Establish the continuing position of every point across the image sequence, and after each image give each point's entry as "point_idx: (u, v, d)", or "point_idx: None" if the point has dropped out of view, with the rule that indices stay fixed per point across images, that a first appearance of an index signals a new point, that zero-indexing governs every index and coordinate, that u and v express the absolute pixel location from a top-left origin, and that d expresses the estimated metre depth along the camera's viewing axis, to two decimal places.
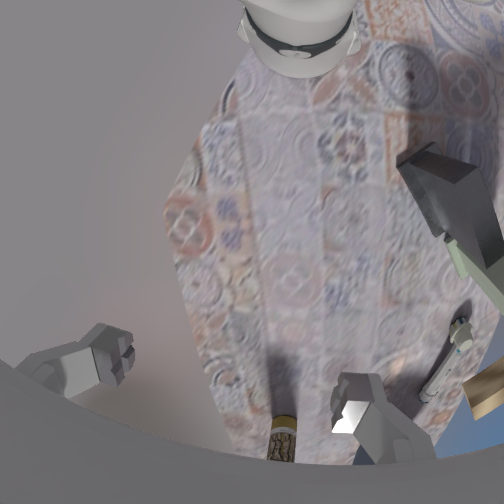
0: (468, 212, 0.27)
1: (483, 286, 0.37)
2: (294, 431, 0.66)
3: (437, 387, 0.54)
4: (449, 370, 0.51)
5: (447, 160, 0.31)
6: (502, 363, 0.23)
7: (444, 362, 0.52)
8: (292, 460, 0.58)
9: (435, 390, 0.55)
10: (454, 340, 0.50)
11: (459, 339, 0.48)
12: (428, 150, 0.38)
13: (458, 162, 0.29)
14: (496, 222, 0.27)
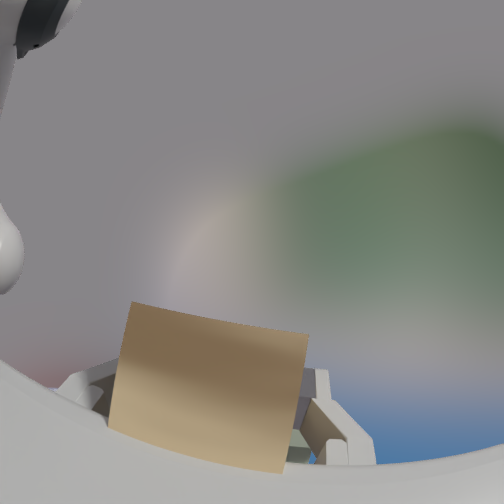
0: None
1: None
2: None
3: None
4: None
5: None
6: None
7: None
8: None
9: None
10: None
11: None
12: None
13: None
14: None
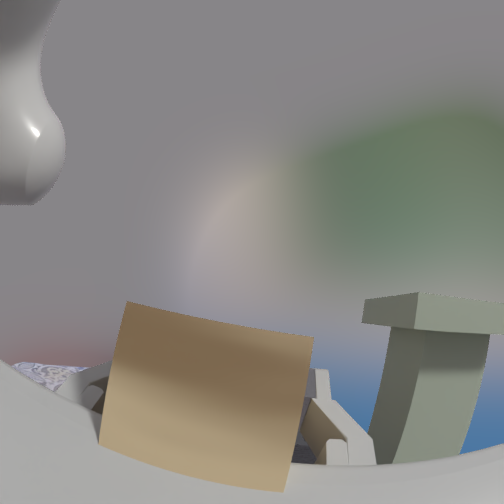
0: None
1: None
2: None
3: None
4: None
5: None
6: None
7: None
8: None
9: None
10: None
11: None
12: None
13: None
14: None
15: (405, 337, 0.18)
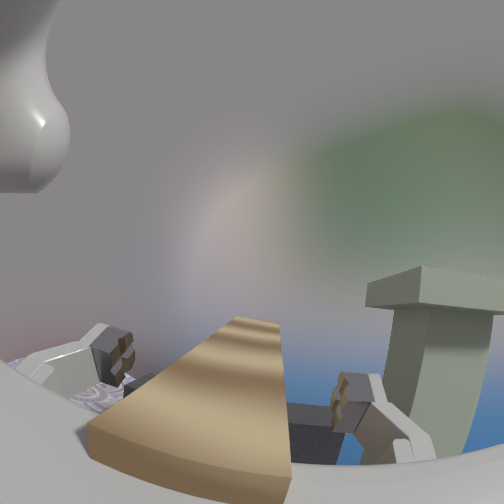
0: None
1: None
2: None
3: None
4: None
5: None
6: None
7: None
8: None
9: None
10: None
11: None
12: None
13: None
14: None
15: (409, 317, 0.18)
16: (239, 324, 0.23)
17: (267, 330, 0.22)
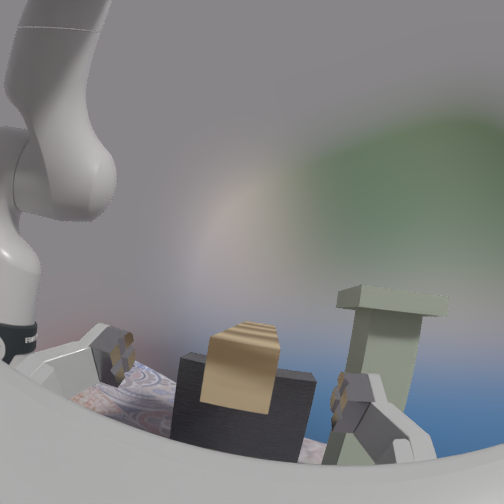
0: None
1: None
2: None
3: None
4: None
5: None
6: None
7: None
8: None
9: None
10: None
11: None
12: None
13: None
14: None
15: (362, 316, 0.30)
16: (249, 324, 0.34)
17: (267, 327, 0.34)
